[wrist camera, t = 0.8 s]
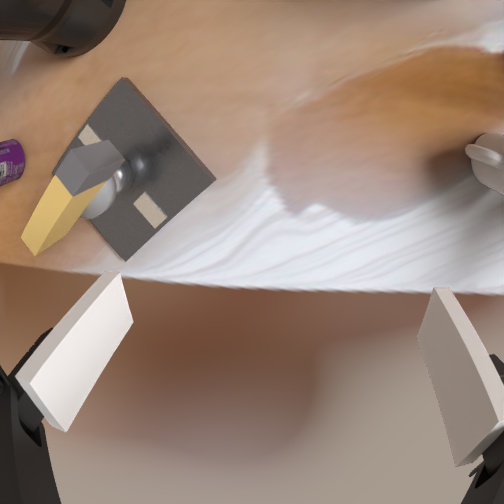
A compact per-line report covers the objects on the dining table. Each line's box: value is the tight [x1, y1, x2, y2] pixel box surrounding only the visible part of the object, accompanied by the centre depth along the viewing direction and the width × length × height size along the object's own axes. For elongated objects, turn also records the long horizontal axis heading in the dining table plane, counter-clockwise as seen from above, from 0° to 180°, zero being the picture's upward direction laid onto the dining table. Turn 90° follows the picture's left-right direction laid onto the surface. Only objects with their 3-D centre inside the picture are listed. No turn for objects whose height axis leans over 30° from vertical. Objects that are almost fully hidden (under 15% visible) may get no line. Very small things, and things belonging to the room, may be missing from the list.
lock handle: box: [21, 140, 125, 256], centre depth 28 cm, size 6×13×8 cm, turn 130°
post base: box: [52, 78, 216, 261], centre depth 35 cm, size 18×18×7 cm
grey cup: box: [465, 133, 504, 196], centre depth 26 cm, size 7×10×9 cm
